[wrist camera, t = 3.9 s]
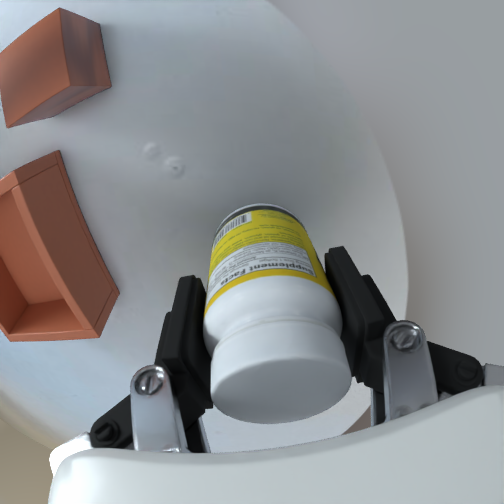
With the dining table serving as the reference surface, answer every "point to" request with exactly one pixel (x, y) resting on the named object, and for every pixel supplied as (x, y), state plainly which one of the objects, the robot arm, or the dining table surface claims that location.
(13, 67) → the block
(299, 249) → the supplement bottle
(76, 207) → the terracotta bin
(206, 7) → the dining table surface
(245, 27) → the dining table surface
